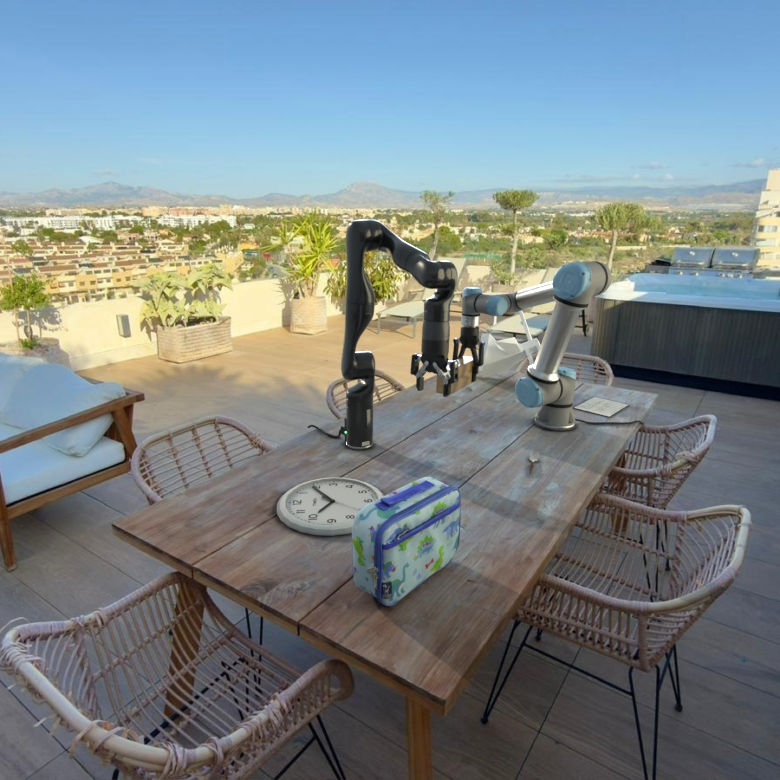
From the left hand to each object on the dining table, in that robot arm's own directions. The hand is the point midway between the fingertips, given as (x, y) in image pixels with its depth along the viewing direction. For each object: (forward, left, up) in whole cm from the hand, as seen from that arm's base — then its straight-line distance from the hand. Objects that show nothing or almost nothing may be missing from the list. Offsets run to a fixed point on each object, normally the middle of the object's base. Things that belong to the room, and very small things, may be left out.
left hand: (433, 393), depth 147 cm
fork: (+16, +34, -28) cm, 47 cm away
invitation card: (+8, +108, -28) cm, 112 cm away
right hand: (-34, +67, -17) cm, 76 cm away
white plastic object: (-40, +110, -28) cm, 120 cm away
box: (-32, +58, -17) cm, 68 cm away
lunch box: (+24, -37, -28) cm, 53 cm away
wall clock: (-11, -28, -28) cm, 42 cm away
